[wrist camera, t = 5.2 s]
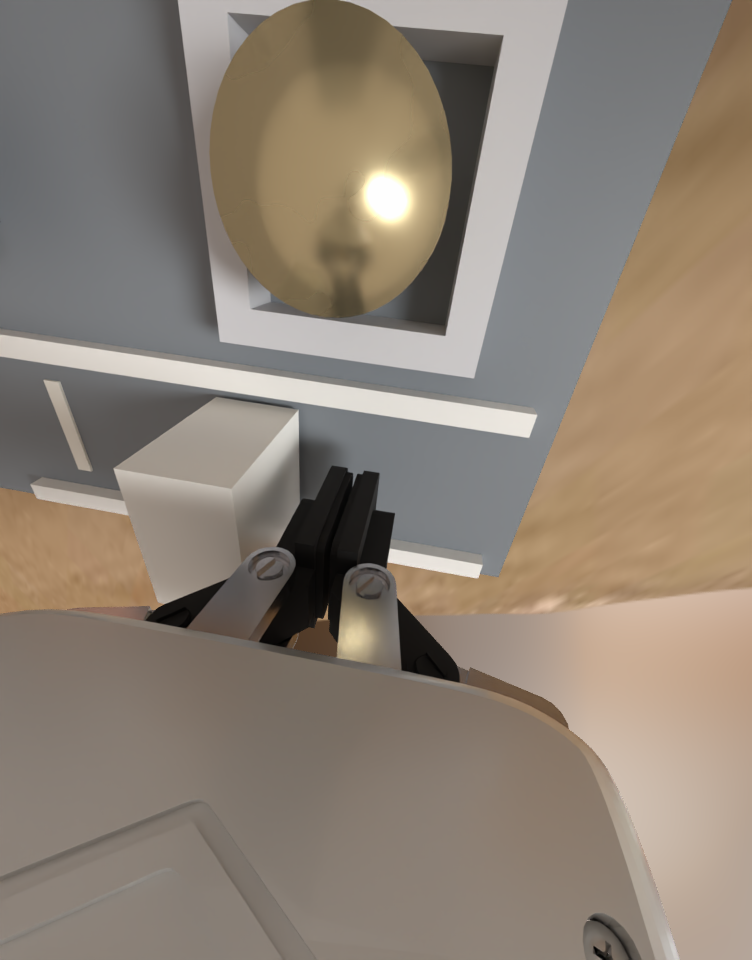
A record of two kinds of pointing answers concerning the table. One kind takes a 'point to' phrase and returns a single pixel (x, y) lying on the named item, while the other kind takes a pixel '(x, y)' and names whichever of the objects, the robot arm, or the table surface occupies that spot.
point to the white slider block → (212, 492)
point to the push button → (330, 158)
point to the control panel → (296, 334)
